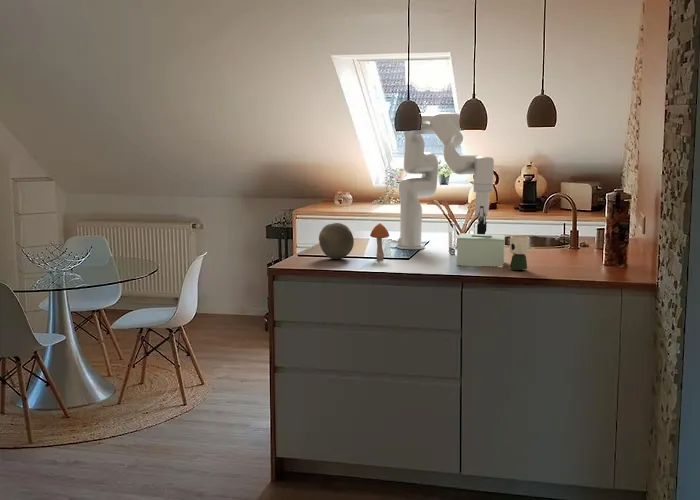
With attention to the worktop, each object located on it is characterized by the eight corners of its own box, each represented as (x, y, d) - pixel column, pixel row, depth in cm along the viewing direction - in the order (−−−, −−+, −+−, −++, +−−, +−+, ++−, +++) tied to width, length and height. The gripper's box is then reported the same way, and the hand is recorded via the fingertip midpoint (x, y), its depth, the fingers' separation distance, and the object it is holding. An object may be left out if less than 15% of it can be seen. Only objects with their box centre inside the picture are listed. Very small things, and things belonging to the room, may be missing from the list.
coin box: (456, 265, 318) (457, 237, 316) (459, 259, 330) (460, 233, 328) (502, 267, 314) (504, 239, 312) (503, 261, 326) (505, 235, 325)
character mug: (506, 267, 314) (508, 234, 312) (525, 267, 314) (526, 234, 311) (511, 272, 303) (513, 238, 301) (530, 273, 303) (532, 238, 301)
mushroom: (371, 261, 325) (372, 224, 323) (368, 258, 333) (368, 222, 331) (390, 260, 326) (391, 224, 324) (386, 257, 334) (387, 221, 332)
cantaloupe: (320, 256, 336) (320, 220, 333) (354, 257, 335) (354, 221, 333) (317, 262, 322) (317, 225, 319) (352, 263, 321) (352, 225, 319)
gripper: (475, 186, 326) (473, 229, 329) (472, 189, 310) (470, 235, 312) (493, 186, 325) (492, 230, 328) (491, 190, 308) (490, 236, 311)
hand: (481, 232), depth 320 cm, fingers open, 7 cm apart
